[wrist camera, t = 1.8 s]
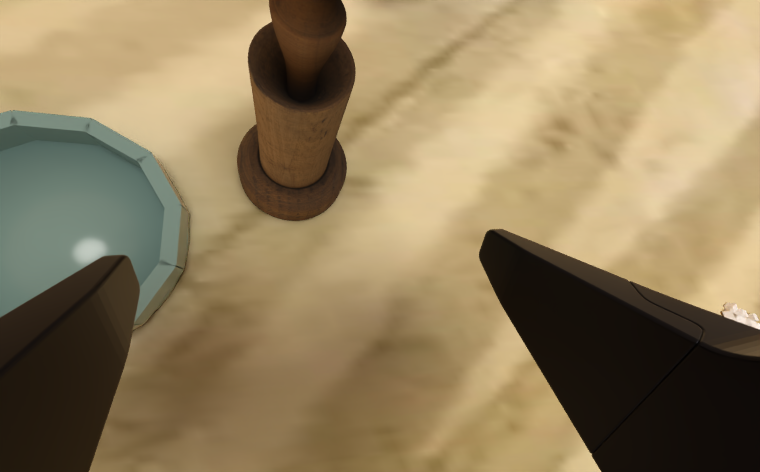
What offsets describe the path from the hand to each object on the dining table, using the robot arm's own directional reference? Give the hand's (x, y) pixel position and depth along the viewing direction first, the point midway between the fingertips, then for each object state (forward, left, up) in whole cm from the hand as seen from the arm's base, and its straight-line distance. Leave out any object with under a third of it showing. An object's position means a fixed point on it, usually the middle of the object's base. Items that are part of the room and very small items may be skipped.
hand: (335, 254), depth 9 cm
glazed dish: (-10, +9, -14) cm, 19 cm away
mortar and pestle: (+3, +7, -14) cm, 16 cm away
